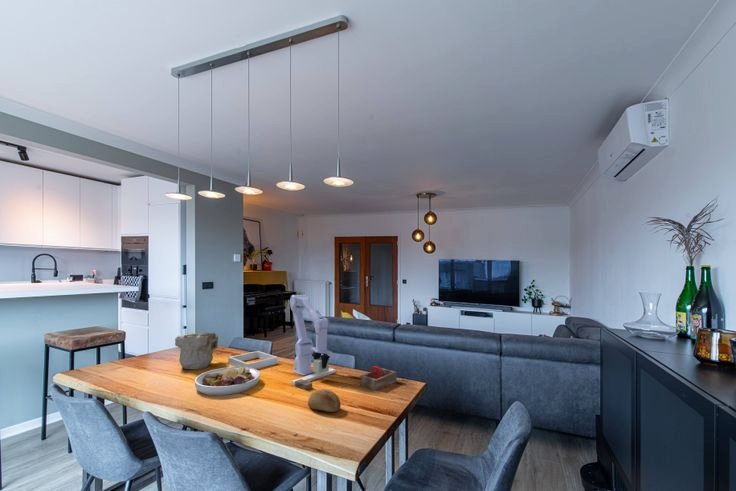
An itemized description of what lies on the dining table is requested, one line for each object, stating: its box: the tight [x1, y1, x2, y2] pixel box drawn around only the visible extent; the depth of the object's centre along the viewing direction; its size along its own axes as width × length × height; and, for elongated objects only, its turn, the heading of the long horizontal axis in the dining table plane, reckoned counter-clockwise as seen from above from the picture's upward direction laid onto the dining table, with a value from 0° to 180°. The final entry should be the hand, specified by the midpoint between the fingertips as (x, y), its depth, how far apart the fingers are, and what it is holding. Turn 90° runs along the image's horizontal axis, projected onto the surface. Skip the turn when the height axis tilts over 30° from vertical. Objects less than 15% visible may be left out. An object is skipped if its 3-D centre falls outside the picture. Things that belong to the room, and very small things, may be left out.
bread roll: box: [307, 388, 341, 413], centre depth 139 cm, size 10×15×8 cm, turn 68°
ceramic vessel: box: [174, 331, 219, 370], centre depth 197 cm, size 23×24×25 cm
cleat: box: [294, 379, 313, 391], centre depth 164 cm, size 8×4×2 cm, turn 51°
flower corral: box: [227, 350, 279, 370], centre depth 201 cm, size 21×20×4 cm
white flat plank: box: [290, 367, 336, 386], centre depth 178 cm, size 4×28×2 cm, turn 141°
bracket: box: [369, 365, 392, 388], centre depth 170 cm, size 12×4×8 cm, turn 65°
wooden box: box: [359, 367, 397, 392], centre depth 170 cm, size 10×17×5 cm, turn 141°
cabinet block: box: [312, 357, 330, 373], centre depth 175 cm, size 4×7×6 cm, turn 141°
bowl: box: [194, 366, 261, 396], centre depth 165 cm, size 30×30×8 cm
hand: (320, 367), depth 175 cm, fingers closed on cabinet block, 4 cm apart
